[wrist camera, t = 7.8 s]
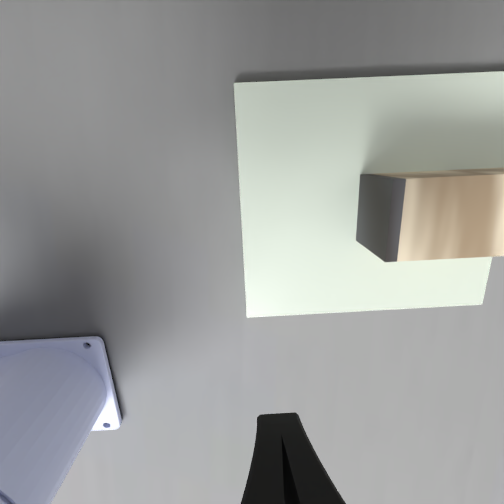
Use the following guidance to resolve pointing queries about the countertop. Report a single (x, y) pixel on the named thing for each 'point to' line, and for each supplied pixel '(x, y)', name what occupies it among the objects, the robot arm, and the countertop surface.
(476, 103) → the sage board
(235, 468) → the countertop surface
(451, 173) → the birch block
